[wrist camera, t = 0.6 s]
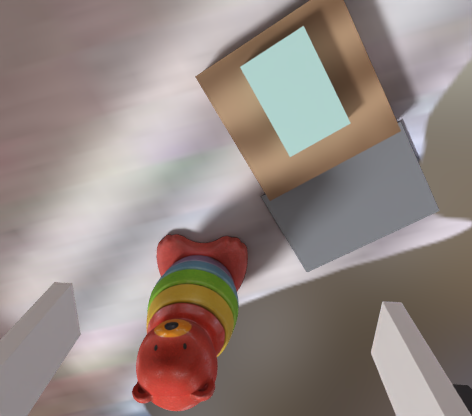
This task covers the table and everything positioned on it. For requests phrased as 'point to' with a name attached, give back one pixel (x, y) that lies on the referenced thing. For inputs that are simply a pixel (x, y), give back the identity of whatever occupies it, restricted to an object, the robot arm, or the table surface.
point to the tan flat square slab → (342, 79)
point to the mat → (354, 202)
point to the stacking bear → (189, 320)
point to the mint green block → (295, 92)
